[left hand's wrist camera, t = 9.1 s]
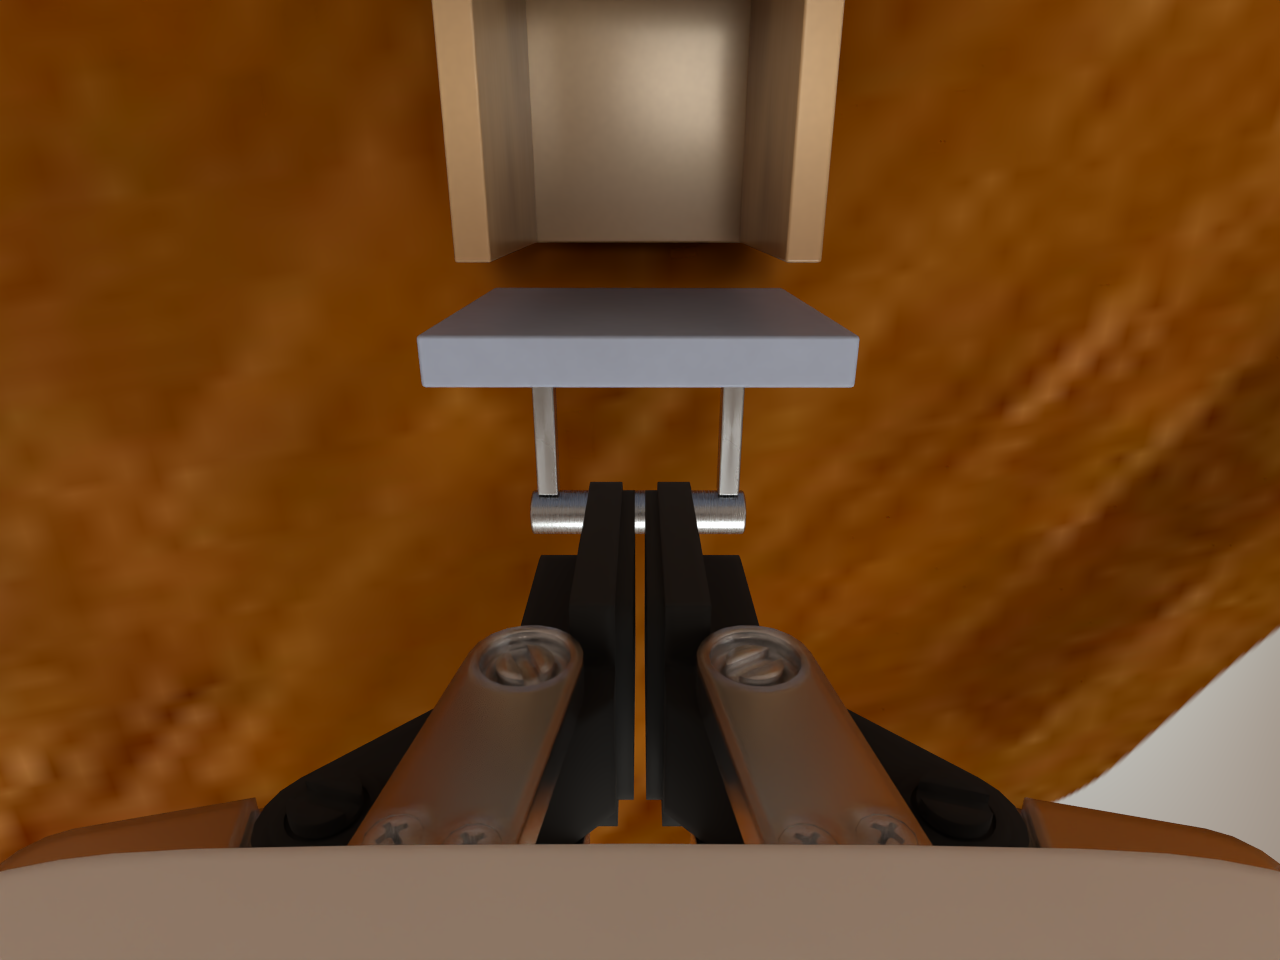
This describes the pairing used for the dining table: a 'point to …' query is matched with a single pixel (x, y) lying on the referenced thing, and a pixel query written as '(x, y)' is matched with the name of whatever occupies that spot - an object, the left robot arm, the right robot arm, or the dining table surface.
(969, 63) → the dining table surface
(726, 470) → the drawer
